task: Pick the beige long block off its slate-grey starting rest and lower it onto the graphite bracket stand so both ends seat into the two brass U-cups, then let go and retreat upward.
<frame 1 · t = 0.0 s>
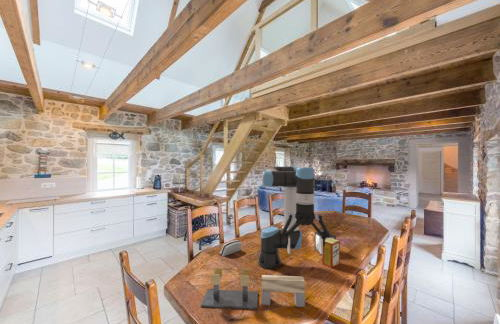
hand: (304, 252, 89), 28 cm above the table, tool pointing down, fingers open, 13 cm apart
baking soda box: (331, 264, 138), on the table
lantern: (324, 251, 159), on the table
grey curved block: (231, 253, 155), on the table
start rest: (282, 302, 99), on the table
beige long block: (282, 289, 99), point 6 cm above the table, touching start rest
bracket stand: (230, 299, 101), on the table
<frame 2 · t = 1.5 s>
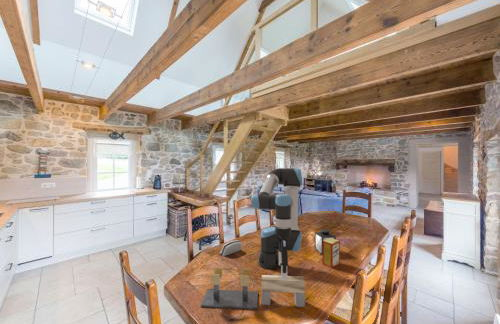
hand: (282, 271, 99), 15 cm above the table, tool pointing down, fingers open, 13 cm apart
nothing on the table moved.
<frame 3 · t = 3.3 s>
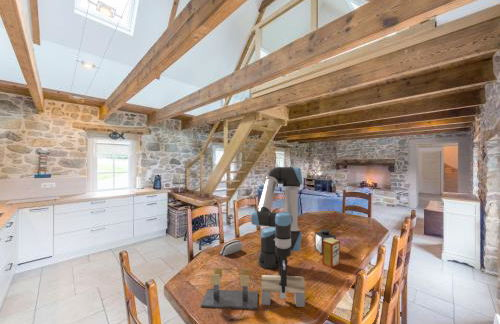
hand: (282, 295, 99), 3 cm above the table, tool pointing down, fingers closed on beige long block, 4 cm apart
beige long block: (282, 289, 99), point 6 cm above the table, touching gripper, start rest
everything else where it was.
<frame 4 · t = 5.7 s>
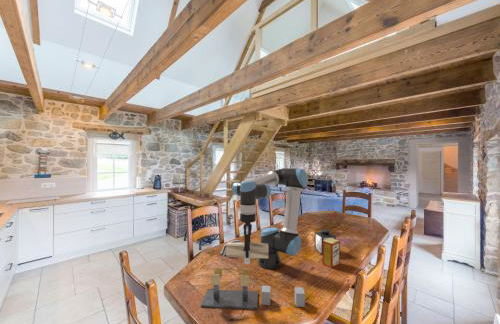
hand: (247, 261, 100), 19 cm above the table, tool pointing down, fingers closed on beige long block, 4 cm apart
beige long block: (247, 256, 100), point 21 cm above the table, touching gripper
everything else where it was.
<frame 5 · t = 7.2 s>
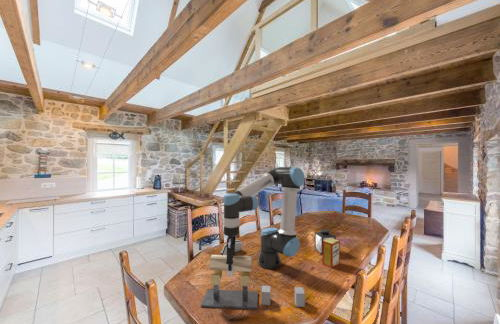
hand: (230, 274, 101), 12 cm above the table, tool pointing down, fingers closed on beige long block, 4 cm apart
beige long block: (231, 268, 101), point 15 cm above the table, touching gripper
everything else where it was.
when the fingers open (9 cm above the table, at t = 8.5 s): beige long block drops 1 cm, resting on bracket stand.
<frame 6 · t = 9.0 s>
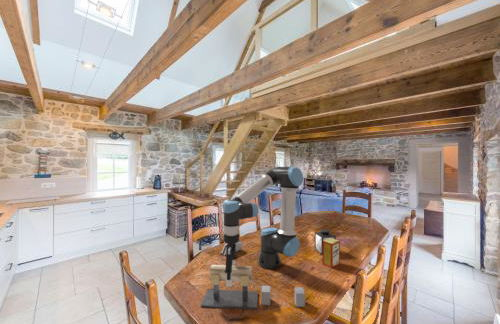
hand: (230, 279, 101), 10 cm above the table, tool pointing down, fingers open, 11 cm apart
beige long block: (231, 278, 101), point 10 cm above the table, touching bracket stand
everything else where it was.
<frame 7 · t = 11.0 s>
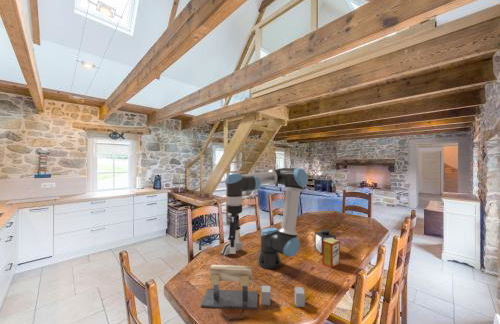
hand: (234, 247, 103), 25 cm above the table, tool pointing down, fingers open, 13 cm apart
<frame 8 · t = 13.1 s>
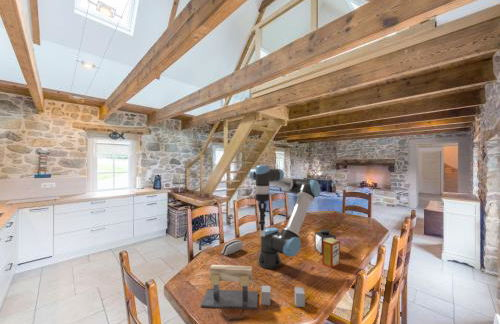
hand: (262, 232, 114), 29 cm above the table, tool pointing down, fingers open, 13 cm apart
at the end: beige long block 0.0 cm off-centre on the bracket stand, point 10.0 cm above the bracket stand's base; beige long block tilted 0°; beige long block touching bracket stand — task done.
